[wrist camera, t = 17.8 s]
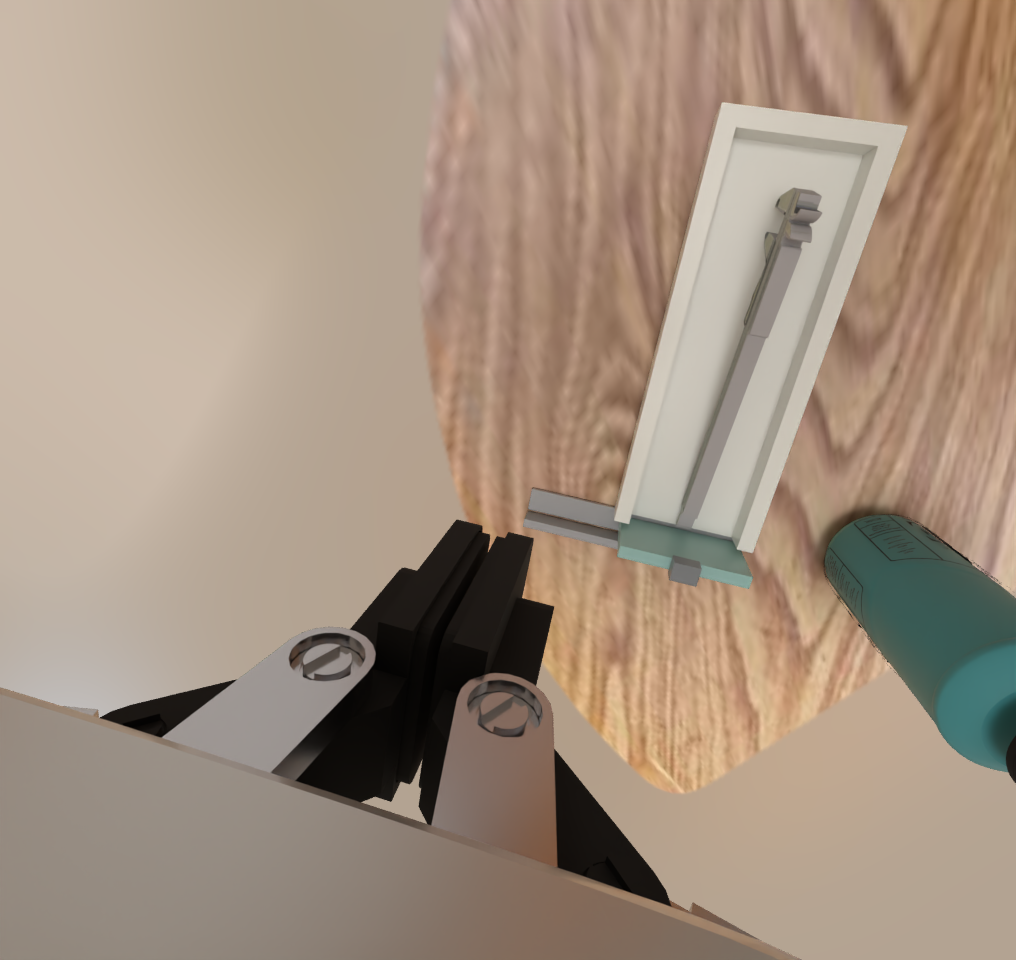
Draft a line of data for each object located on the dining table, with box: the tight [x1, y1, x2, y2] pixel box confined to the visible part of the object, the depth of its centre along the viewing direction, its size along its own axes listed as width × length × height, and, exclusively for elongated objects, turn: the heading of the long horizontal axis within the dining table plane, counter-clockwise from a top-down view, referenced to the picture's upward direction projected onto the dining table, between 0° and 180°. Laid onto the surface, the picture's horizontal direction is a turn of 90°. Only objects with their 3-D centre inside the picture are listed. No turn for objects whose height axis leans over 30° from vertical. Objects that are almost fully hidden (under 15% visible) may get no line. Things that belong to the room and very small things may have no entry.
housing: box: [523, 102, 908, 553], centre depth 34 cm, size 15×26×2 cm, turn 170°
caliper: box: [676, 188, 822, 530], centre depth 31 cm, size 20×1×6 cm, turn 170°
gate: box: [617, 518, 753, 589], centre depth 35 cm, size 8×1×6 cm, turn 80°
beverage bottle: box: [824, 515, 1016, 783], centre depth 27 cm, size 6×7×20 cm
